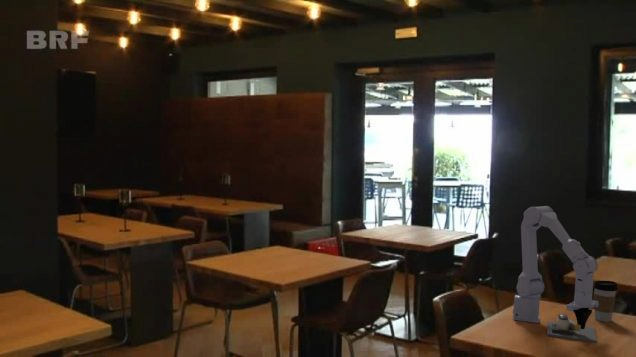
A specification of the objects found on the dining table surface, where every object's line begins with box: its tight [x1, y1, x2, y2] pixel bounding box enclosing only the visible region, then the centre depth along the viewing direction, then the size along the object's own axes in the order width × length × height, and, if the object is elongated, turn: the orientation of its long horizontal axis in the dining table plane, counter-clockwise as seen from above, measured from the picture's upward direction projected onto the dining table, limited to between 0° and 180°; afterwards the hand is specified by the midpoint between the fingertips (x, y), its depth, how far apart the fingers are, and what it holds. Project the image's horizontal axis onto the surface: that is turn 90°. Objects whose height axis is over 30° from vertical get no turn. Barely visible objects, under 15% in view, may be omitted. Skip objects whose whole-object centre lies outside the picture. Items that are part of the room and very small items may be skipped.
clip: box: [557, 313, 581, 331], centre depth 222 cm, size 12×3×2 cm, turn 7°
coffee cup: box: [593, 280, 618, 323], centre depth 238 cm, size 8×8×15 cm
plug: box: [555, 315, 570, 331], centre depth 220 cm, size 5×5×5 cm
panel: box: [546, 320, 598, 344], centre depth 221 cm, size 16×16×2 cm
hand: (580, 328), depth 218 cm, fingers closed
